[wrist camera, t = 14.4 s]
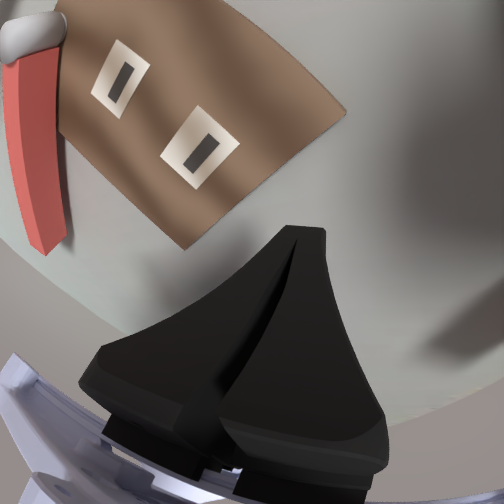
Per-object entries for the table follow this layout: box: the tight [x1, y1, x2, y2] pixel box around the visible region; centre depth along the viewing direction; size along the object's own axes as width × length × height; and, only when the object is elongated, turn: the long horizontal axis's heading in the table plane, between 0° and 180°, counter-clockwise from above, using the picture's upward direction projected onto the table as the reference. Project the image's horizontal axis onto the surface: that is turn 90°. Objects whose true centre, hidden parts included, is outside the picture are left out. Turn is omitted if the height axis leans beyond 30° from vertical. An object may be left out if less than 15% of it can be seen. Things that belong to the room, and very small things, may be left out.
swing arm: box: [0, 11, 67, 256], centre depth 19 cm, size 4×25×4 cm, turn 161°
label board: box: [54, 0, 346, 251], centre depth 17 cm, size 17×23×1 cm
